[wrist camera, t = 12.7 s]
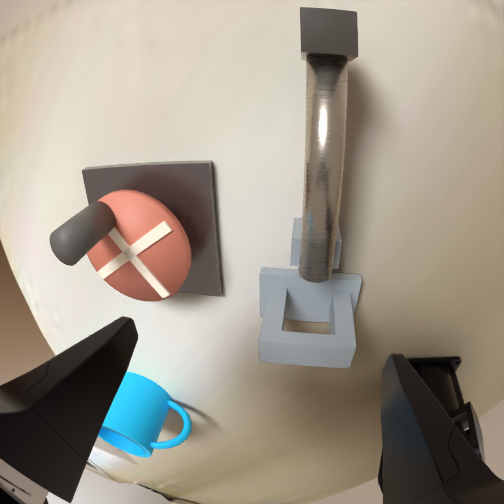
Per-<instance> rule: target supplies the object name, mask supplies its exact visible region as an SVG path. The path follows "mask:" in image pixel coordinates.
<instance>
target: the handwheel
mask: <svg viewBox="0 0 504 504" xmlns="http://www.w3.org/2000/svg"><path fill="white" fill-rule="evenodd" d="M50 245H51V248H52V251H53V253H54V254H55V256H56V257H57V258H58V259H59V260H60V261H61V262H62V263H64V264H66V265H70V266H72V265H75V264H76V263H77V262H78V261H79V260H80V259H81V258H82V257H83V256H84V255H85V254H86V253H87V255H88V258H89V260H90V261H91V263H92V265H93V267H94V268H95V270H96V271H97V272H98V274H99V275H100V276H101V277H102V278H103V279H104V280H105V281H106V282H107V283H108V284H109V285H110V286H112V287H113V288H114V289H116V290H117V291H119V292H120V293H122V294H124V295H126V296H128V297H131V298H134V299H137V300H142V301H160V300H164V299H166V298H169V297H171V296H172V295H174V294H175V293H176V292H177V291H178V290H179V289H180V287H181V286H182V284H183V283H184V281H185V279H186V277H187V276H188V274H189V270H190V267H191V248H190V244H189V240H188V237H187V235H186V232H185V230H184V229H183V227H182V225H181V223H180V222H179V221H178V219H177V218H176V216H175V215H174V214H173V213H172V212H171V211H170V210H169V209H168V208H167V207H166V206H165V205H164V204H162V203H161V202H160V201H158V200H157V199H155V198H153V197H151V196H150V195H147V194H145V193H142V192H139V191H134V190H118V191H114V192H111V193H109V194H107V195H105V196H104V197H102V198H101V199H99V200H98V201H95V202H93V203H92V204H90V205H89V206H87V207H86V208H84V209H83V210H82V211H80V212H79V213H77V214H76V215H75V216H73V217H72V218H71V219H69V220H68V221H67V222H65V223H64V224H63V225H61V226H60V227H59V228H57V229H56V230H55V231H53V232H52V234H51V236H50Z"/></svg>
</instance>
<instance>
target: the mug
mask: <svg viewBox="0 0 504 504" xmlns="http://www.w3.org/2000/svg"><path fill="white" fill-rule="evenodd" d="M170 407H171V408H173V409H174V410H176V411H177V412H178V413H179V414H180V415H181V416H182V418H183V421H184V428H183V430H182V432H181V433H180V435H178V436H177V437H175V438H174V439H172V440H169V441H166V442H157V439H158V437H159V434H160V432H161V429H162V427H163V424H164V421H165V419H166V416H167V414H168V411H169V409H170ZM191 428H192V422H191V419H190V417H189V414H188V413H187V412H186V411H185V410H184V409H183V408H182V407H181V406H179V405H178V404H176V403H175V402H173V401H171V397H170V396H169V394H168V393H167V392H166V391H165V390H164V389H163V388H162V387H160V386H159V385H158V384H156V383H155V382H153V381H151V380H149V379H147V378H145V377H143V376H141V375H138V374H135V373H131V372H126V374H125V376H124V379H123V381H122V383H121V385H120V387H119V389H118V391H117V394H116V396H115V398H114V400H113V402H112V405H111V407H110V409H109V411H108V413H107V416H106V418H105V420H104V423H103V425H102V427H101V429H100V432H99V434H98V436H99V437H100V438H102V439H103V440H104V441H106V442H108V443H109V444H111V445H113V446H115V447H117V448H119V449H121V450H123V451H125V452H128V453H130V454H133V455H136V456H140V457H150V456H151V455H152V452H153V449H154V448H155V449H166V448H172V447H175V446H177V445H180V444H181V443H182V442H184V441H185V440H186V439H187V438H188V436H189V435H190V433H191Z"/></svg>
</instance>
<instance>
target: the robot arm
mask: <svg viewBox="0 0 504 504" xmlns="http://www.w3.org/2000/svg"><path fill="white" fill-rule="evenodd" d="M137 340H138V333H137V330H136V326H135V323H134V320H133V319H132V318H128V317H120V318H119V319H117V320H115V321H114V322H112V323H110V324H109V325H107V326H105V327H103V328H102V329H100V330H98V331H97V332H95V333H93V334H92V335H90V336H88V337H87V338H85V339H83V340H82V341H80V342H78V343H77V344H75V345H73V346H72V347H70V348H68V349H67V350H65V351H63V352H62V353H60V354H58V355H57V356H55V357H53V358H52V359H50V361H47V362H45V363H43V364H42V365H40V366H38V367H37V368H35V369H33V370H31V371H29V372H27V373H25V374H23V375H21V376H19V377H17V378H15V379H13V380H11V381H9V382H7V383H5V384H3V385H1V386H0V504H48V501H47V498H46V496H47V494H48V492H51V493H53V494H54V495H56V496H58V497H60V498H62V499H63V500H65V501H67V502H69V503H71V501H72V499H73V496H74V494H75V491H76V488H77V486H78V484H79V481H80V478H81V476H82V473H83V471H84V468H85V466H86V463H87V460H88V458H89V456H90V453H91V451H92V448H93V446H94V443H95V441H96V438H97V436H98V434H99V432H100V429H101V427H102V425H103V423H104V420H105V418H106V416H107V413H108V411H109V409H110V407H111V405H112V402H113V400H114V398H115V396H116V394H117V391H118V389H119V387H120V385H121V383H122V381H123V379H124V376H125V374H126V371H127V369H128V366H129V363H130V360H131V357H132V354H133V352H134V349H135V346H136V343H137ZM460 363H461V358H460V357H443V358H413V359H406V358H405V356H404V355H403V354H398V353H392V354H390V356H389V358H388V360H387V362H386V364H385V366H384V368H383V371H382V397H381V424H382V444H383V448H382V455H381V462H380V469H379V475H378V484H379V485H380V488H381V491H382V493H383V504H504V480H501V479H500V478H498V477H497V476H496V475H495V474H494V473H493V472H492V471H491V470H490V468H489V467H488V466H487V465H486V464H485V458H484V446H483V436H482V432H481V428H480V424H479V420H478V417H477V415H476V413H475V410H474V408H473V406H472V404H471V402H468V403H466V404H464V400H463V397H462V393H461V390H460V386H459V383H458V379H457V376H456V373H455V371H456V370H457V368H458V367H459V365H460ZM468 427H469V429H468V430H466V431H465V430H464V429H466V428H468Z"/></svg>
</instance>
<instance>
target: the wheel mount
mask: <svg viewBox="0 0 504 504" xmlns="http://www.w3.org/2000/svg"><path fill="white" fill-rule="evenodd" d="M82 174H83V179H84V184H85V189H86V194H87V198H88V203H89V205H90V204H92V203H93V202H95V201H98V200H99V199H101V198H102V197H104V196H105V195H107V194H109V193H111V192H114V191H118V190H134V191H139V192H142V193H145V194H147V195H150V196H151V197H153V198H155V199H157V200H158V201H160V202H161V203H162V204H164V205H165V206H166V207H167V208H168V209H169V210H170V211H171V212H172V213H173V214H174V215H175V216H176V218H177V219H178V221H179V222H180V223H181V225H182V227H183V229H184V230H185V232H186V235H187V237H188V240H189V244H190V248H191V267H190V270H189V274H188V276H187V277H186V279H185V281H184V283H183V284H182V286H181V287H180V289H179V290H178V291H177V292H185V293H194V294H202V295H211V296H221V294H222V282H221V271H220V260H219V249H218V237H217V225H216V212H215V198H214V184H213V168H212V161H175V162H152V163H135V164H121V165H109V166H98V167H88V168H85V169H83V170H82Z"/></svg>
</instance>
